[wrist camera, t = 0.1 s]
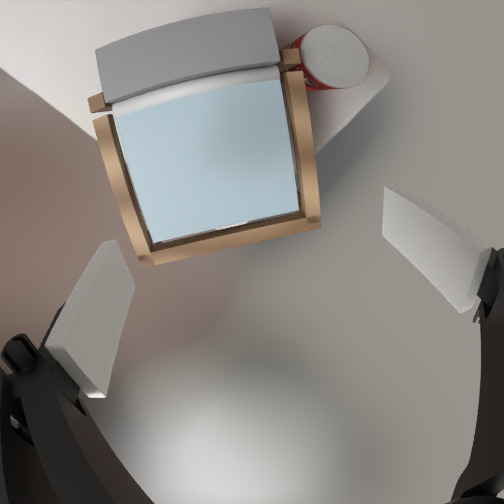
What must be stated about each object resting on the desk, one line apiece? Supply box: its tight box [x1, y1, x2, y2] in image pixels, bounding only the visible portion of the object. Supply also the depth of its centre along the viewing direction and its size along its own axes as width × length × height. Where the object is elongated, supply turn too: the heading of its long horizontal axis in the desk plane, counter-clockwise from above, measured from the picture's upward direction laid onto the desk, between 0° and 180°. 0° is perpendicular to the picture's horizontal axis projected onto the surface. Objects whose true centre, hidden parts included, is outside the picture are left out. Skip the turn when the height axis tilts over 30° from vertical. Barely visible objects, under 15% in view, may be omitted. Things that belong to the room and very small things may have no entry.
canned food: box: [282, 25, 369, 91], centre depth 27 cm, size 8×8×11 cm
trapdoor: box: [95, 8, 299, 243], centre depth 22 cm, size 19×15×6 cm
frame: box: [88, 48, 321, 268], centre depth 30 cm, size 18×19×14 cm
